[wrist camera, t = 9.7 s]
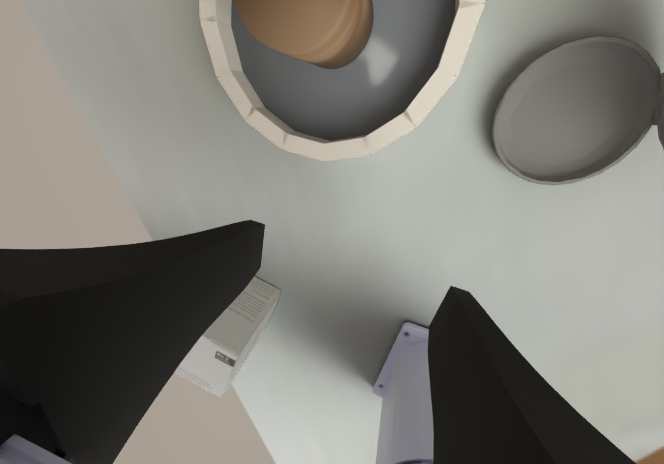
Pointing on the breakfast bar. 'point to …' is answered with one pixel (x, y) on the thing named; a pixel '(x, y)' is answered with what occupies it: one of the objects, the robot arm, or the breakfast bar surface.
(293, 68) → the round tray
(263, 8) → the walnut cylinder
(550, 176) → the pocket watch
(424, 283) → the breakfast bar surface
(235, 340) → the skincare box
